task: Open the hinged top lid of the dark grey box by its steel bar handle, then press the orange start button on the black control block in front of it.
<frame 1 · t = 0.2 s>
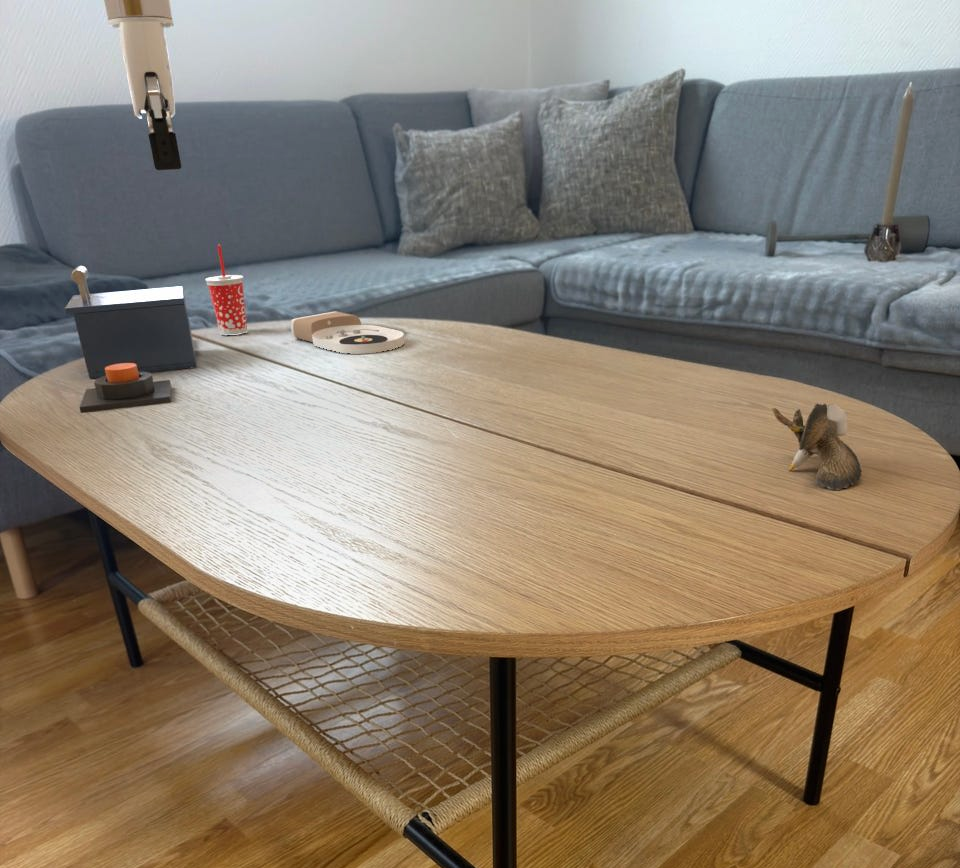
hand: (168, 168, 113), 26 cm above the table, tool pointing down, fingers open, 9 cm apart
button: (122, 373, 104), point 4 cm above the table, slide at 0.1 cm
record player: (351, 343, 137), on the table
dark grey box: (145, 364, 129), on the table
control block: (130, 410, 106), on the table
beverage cup: (234, 334, 148), on the table
eagle figurine: (813, 473, 78), on the table
lid: (124, 283, 124), point 11 cm above the table, hinge at 0.0°
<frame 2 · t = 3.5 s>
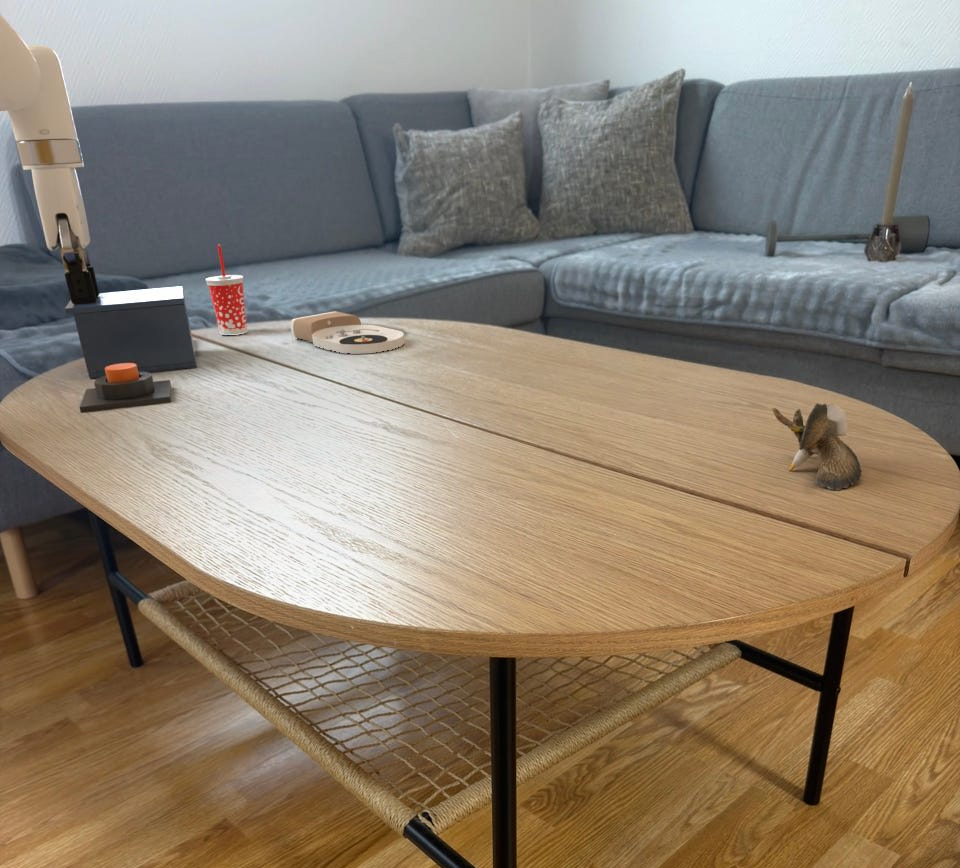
hand: (86, 298, 123), 10 cm above the table, tool pointing down, fingers closed on lid, 5 cm apart
lid: (123, 283, 124), point 11 cm above the table, hinge at -0.1°, touching gripper
everything else where it was.
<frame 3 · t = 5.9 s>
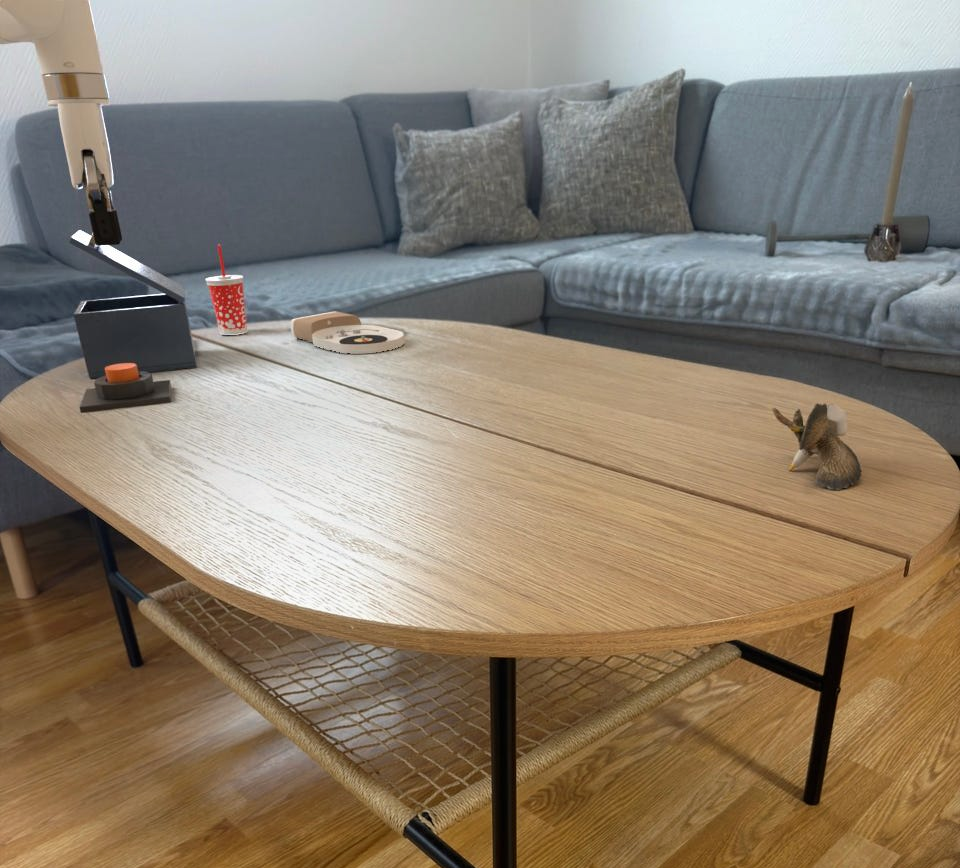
hand: (109, 241, 121), 17 cm above the table, tool pointing down, fingers closed on lid, 5 cm apart
lid: (136, 252, 122), point 15 cm above the table, hinge at 34.8°, touching gripper
everything else where it was.
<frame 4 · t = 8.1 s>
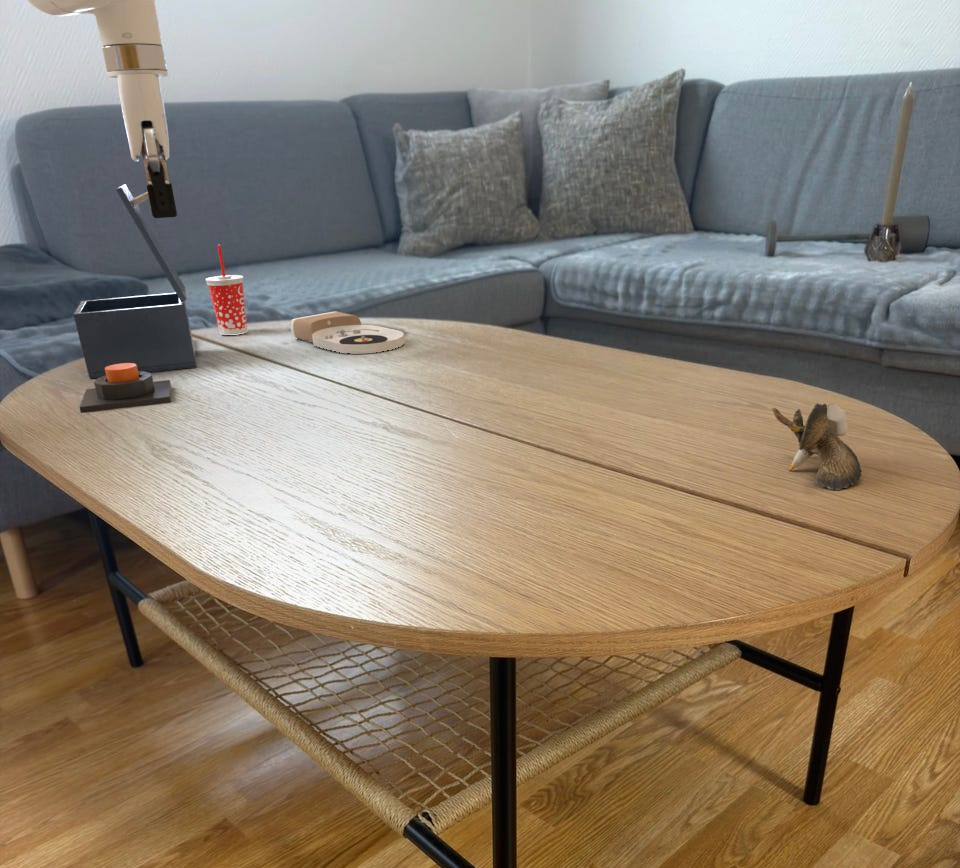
hand: (165, 214, 121), 20 cm above the table, tool pointing down, fingers closed on lid, 5 cm apart
lid: (166, 235, 123), point 17 cm above the table, hinge at 69.6°, touching gripper
everything else where it was.
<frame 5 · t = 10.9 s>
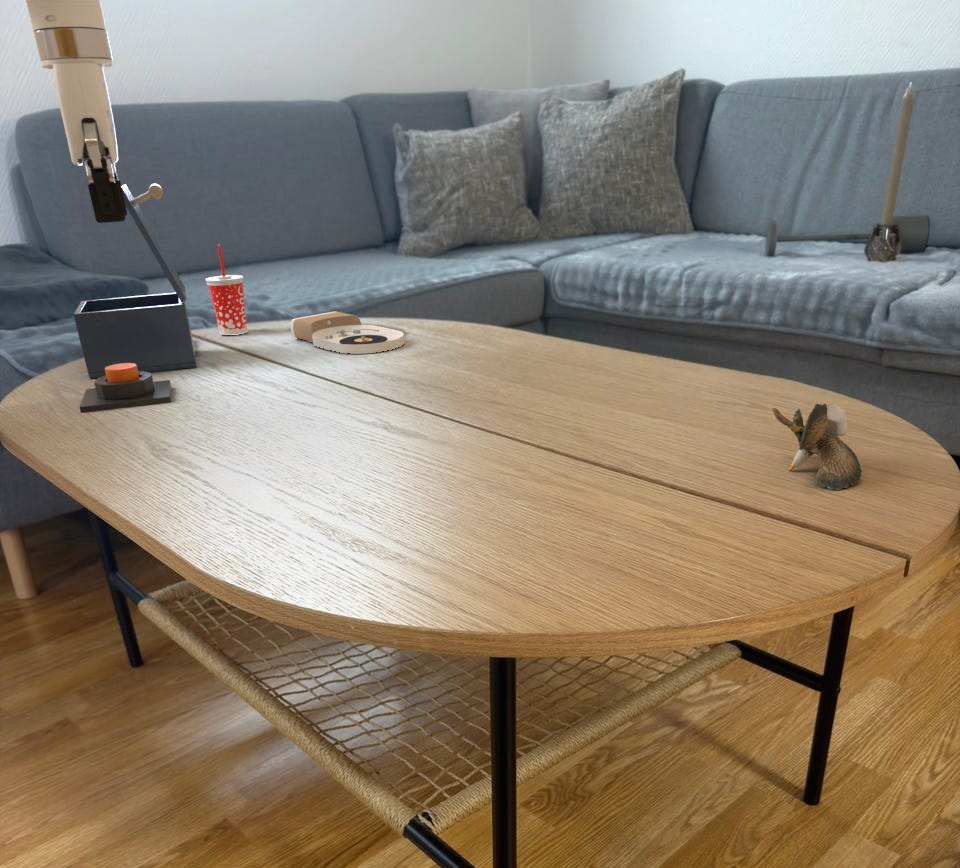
hand: (112, 219, 105), 21 cm above the table, tool pointing down, fingers open, 9 cm apart
lid: (167, 235, 123), point 17 cm above the table, hinge at 69.7°
everything else where it was.
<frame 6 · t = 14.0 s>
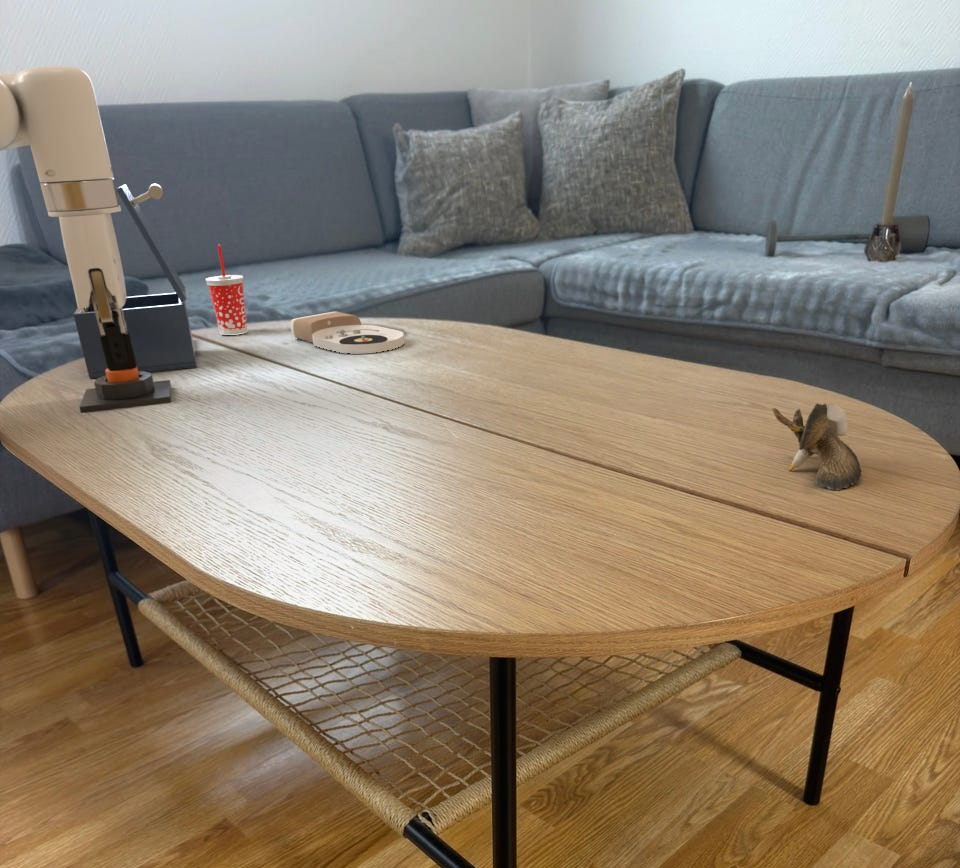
hand: (123, 367, 104), 5 cm above the table, tool pointing down, fingers closed
button: (122, 375, 104), point 4 cm above the table, slide at -0.1 cm, touching gripper
everything else where it was.
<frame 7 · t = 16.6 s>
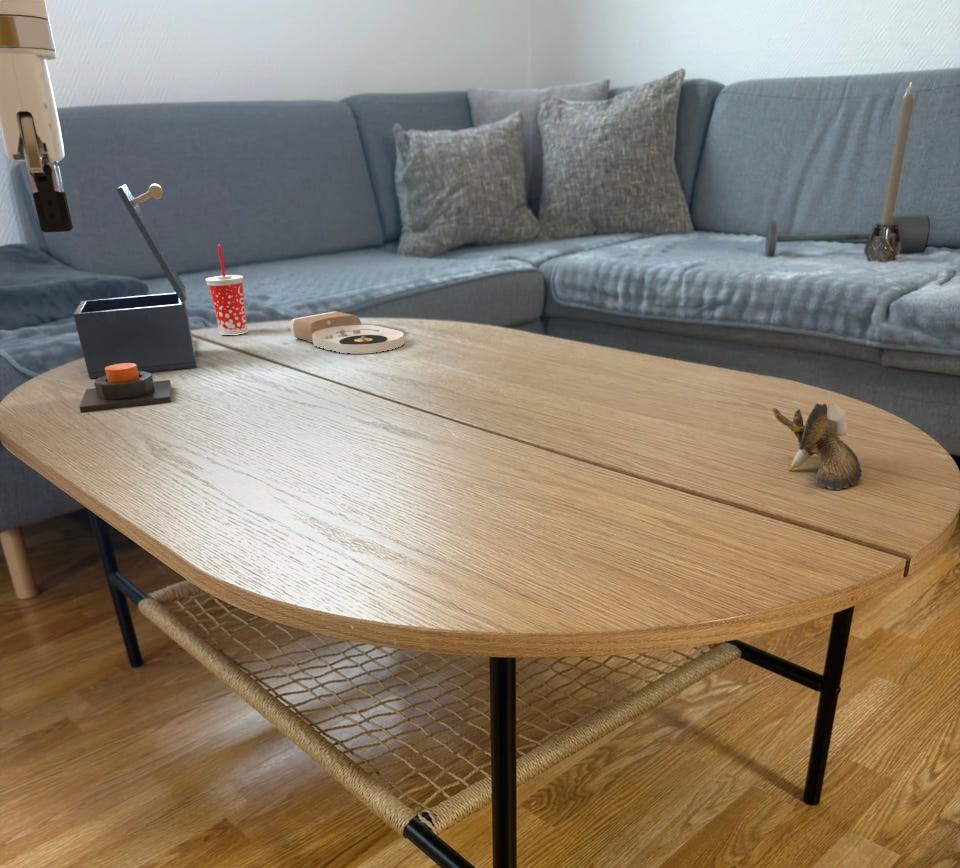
hand: (57, 230, 99), 20 cm above the table, tool pointing down, fingers closed
button: (122, 373, 104), point 4 cm above the table, slide at 0.1 cm
everything else where it was.
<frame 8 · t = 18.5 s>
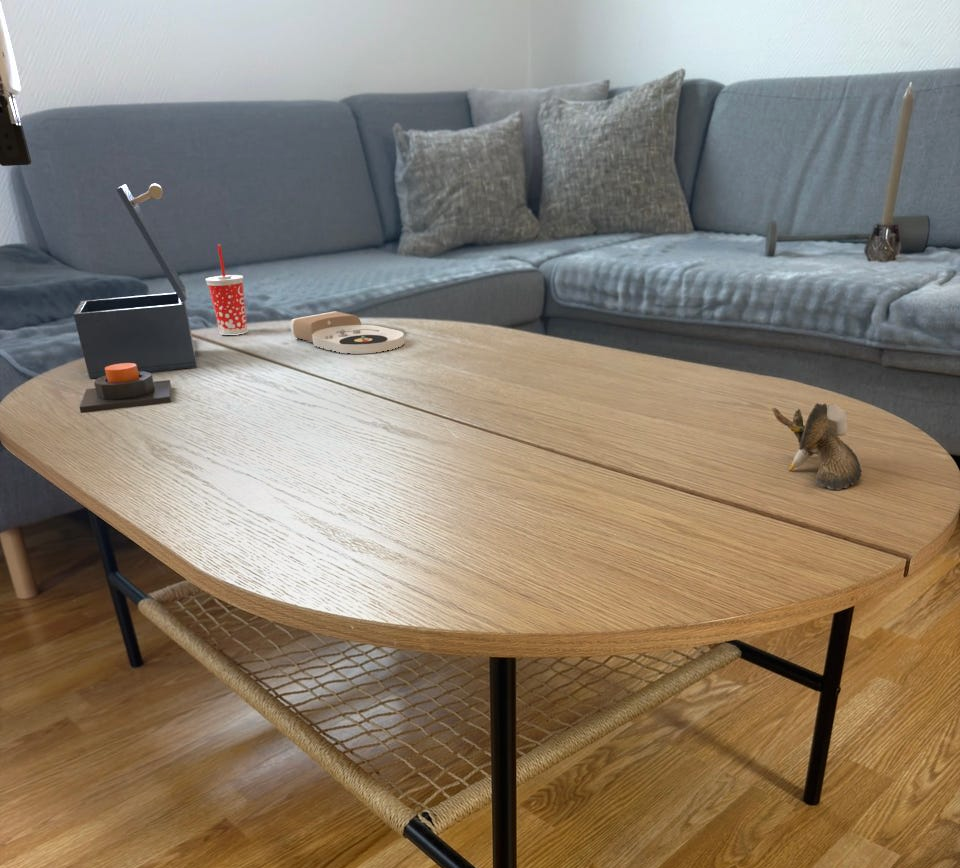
hand: (16, 164, 100), 27 cm above the table, tool pointing down, fingers closed
nothing on the table moved.
at the end: lid at +70° (first picture: +0°); button pushed in 1.1 cm at the most during the clip, back to where it started at the end; button slide at 0.1 cm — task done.
